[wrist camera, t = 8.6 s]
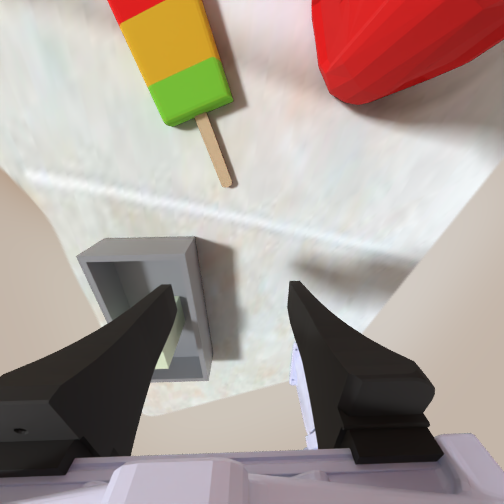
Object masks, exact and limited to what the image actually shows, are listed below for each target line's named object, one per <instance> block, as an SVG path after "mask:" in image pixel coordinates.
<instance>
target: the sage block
mask: <svg viewBox="0 0 504 504" xmlns="http://www.w3.org/2000/svg"><path fill="white" fill-rule="evenodd" d="M174 298H175V302H176V306H177V314H176V317H175V321H174V324H173V327H172V329H171V332H170V334H169V336H168V339H167V341H166V343H165V346H164V348H163V350H162V353H161V355H160V357H159V359H158V362H157V364H156V367H155V369H169V366H170V363H171V361H172V358H173V355H174V352H175V349H176V347H177V344H178V341H179V338H180V335H181V332H182V330H183V327H184V324H185V318H184V314H183V310H182V305H181V301H180V297H179V296H174Z"/></svg>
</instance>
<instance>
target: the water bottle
mask: <svg viewBox="0 0 504 504" xmlns="http://www.w3.org/2000/svg"><path fill="white" fill-rule="evenodd" d="M312 22H313V29H314V35H315V42H316V50H317V58H318V66H319V69H320V71H321V74H322V76H323V79H324V81H325V83H326V86H327V88H328V90H329V93H330V94H331V95H333V96H335V97H336V98H338V99H340V100H341V101H343V102H345V103H351V104H356V105H360V104H365V103H369V102H372V101H374V100H377V99H380V98H382V97H385V96H388V95H390V94H393V93H395V92H398V91H401V90H403V89H406V88H408V87H411V86H414V85H416V84H419V83H421V82H424V81H426V80H429V79H431V78H434V77H436V76H439V75H441V74H443V73H446V72H448V71H450V70H453V69H455V68H457V67H460V66H462V65H464V64H466V63H468V62H470V61H472V60H473V59H475V58H476V57H478V56H479V55H481V54H482V53H484V52H485V51H487V50H488V49H490V48H491V47H493V46H495V45H496V44H498V43H499V42H501V41H502V40H504V0H312Z"/></svg>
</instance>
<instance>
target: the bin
mask: <svg viewBox="0 0 504 504" xmlns="http://www.w3.org/2000/svg"><path fill="white" fill-rule="evenodd" d="M76 257H77V259H78V261H79V264H80V266H81V268H82V270H83V272H84V274H85V276H86V278H87V281H88V283H89V285H90V287H91V289H92V291H93V293H94V295H95V298H96V300H97V302H98V304H99V306H100V308H101V310H102V312H103V315H104V317H105V319H106V321H107V323H110V322H111V321H113V320H114V319H116V318H117V317H118V316H120V315H121V314H123V313H124V312H125V311H127V310H128V309H130V308H131V307H132V306H134V305H135V304H136V303H138V302H139V301H140V300H142V299H143V298H144V297H145V296H147V295H148V294H149V293H150V292H152V291H153V290H154V289H156V288H157V287H158V286H160V285H161V284H171V285H172V289H173V294H174V296H179V297H180V301H181V305H182V310H183V314H184V318H185V324H184V327H183V330H182V332H181V335H180V338H179V341H178V344H177V347H176V349H175V352H174V355H173V358H172V361H171V363H170V366H169V369H155V370H154V373H153V376H152V379H151V382H182V381H209V375H210V369H211V363H212V357H213V350H212V343H211V337H210V331H209V324H208V318H207V311H206V305H205V299H204V292H203V286H202V279H201V273H200V266H199V260H198V254H197V247H196V241H195V236H194V237H150V238H105V239H103V240H101V241H99V242H98V243H96V244H95V245H93V246H92V247H90V248H88V249H87V250H85V251H84V252H82V253H80V254H79V255H77V256H76Z"/></svg>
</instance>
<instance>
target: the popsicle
mask: <svg viewBox="0 0 504 504" xmlns="http://www.w3.org/2000/svg"><path fill="white" fill-rule="evenodd" d="M107 1H108V3H109V5H110V7H111V9H112V11H113V14H114V16H115V18H116V20H117V22H118V24H119V27H120V29H121V31H122V33H123V35H124V37H125V39H126V42H127V44H128V46H129V48H130V50H131V52H132V55H133V57H134V59H135V61H136V63H137V65H138V68H139V70H140V72H141V74H142V76H143V78H144V80H145V83H146V85H147V87H148V89H149V91H150V93H151V96H152V98H153V100H154V102H155V104H156V106H157V109H158V111H159V113H160V115H161V117H162V119H163V121H164V123H165V124H166V125H168V126H172V127H174V126H176V125H179V124H181V123H183V122H186V121H188V120H190V119H193V118H195V120H196V122H197V125H198V127H199V130H200V132H201V135H202V137H203V140H204V142H205V145H206V147H207V150H208V152H209V155H210V157H211V160H212V162H213V165H214V168H215V170H216V173H217V175H218V178H219V180H220V183H221V185H222V186H223V187H229V186H231V184H232V180H231V177H230V175H229V172H228V169H227V166H226V164H225V161H224V158H223V156H222V153H221V150H220V148H219V145H218V142H217V140H216V137H215V134H214V132H213V129H212V126H211V124H210V121H209V118H208V116H207V112H209V111H212V110H214V109H216V108H219V107H221V106H223V105H226V104H228V103H231V102H233V98H232V95H231V92H230V88H229V85H228V82H227V79H226V76H225V72H224V69H223V66H222V63H221V60H220V56H219V53H218V50H217V47H216V44H215V41H214V37H213V34H212V31H211V28H210V25H209V21H208V18H207V15H206V12H205V9H204V6H203V2H202V0H107ZM119 14H120V15H119Z"/></svg>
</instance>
